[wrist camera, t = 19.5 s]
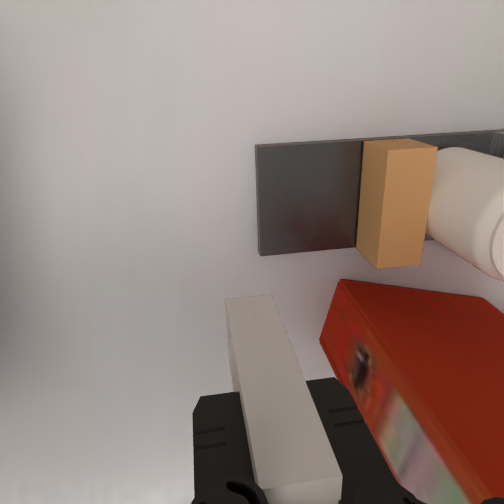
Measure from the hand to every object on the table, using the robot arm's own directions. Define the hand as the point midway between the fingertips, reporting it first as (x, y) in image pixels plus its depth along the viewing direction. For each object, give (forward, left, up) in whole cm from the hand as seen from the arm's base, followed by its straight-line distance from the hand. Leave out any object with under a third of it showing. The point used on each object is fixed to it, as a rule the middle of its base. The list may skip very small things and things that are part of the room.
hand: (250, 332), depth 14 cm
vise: (+17, -3, -24) cm, 30 cm away
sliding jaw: (+15, -3, -23) cm, 28 cm away
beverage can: (+21, -3, -23) cm, 32 cm away
